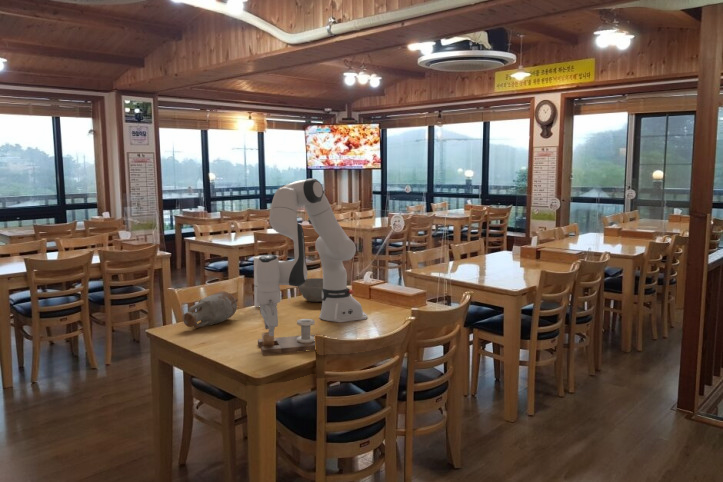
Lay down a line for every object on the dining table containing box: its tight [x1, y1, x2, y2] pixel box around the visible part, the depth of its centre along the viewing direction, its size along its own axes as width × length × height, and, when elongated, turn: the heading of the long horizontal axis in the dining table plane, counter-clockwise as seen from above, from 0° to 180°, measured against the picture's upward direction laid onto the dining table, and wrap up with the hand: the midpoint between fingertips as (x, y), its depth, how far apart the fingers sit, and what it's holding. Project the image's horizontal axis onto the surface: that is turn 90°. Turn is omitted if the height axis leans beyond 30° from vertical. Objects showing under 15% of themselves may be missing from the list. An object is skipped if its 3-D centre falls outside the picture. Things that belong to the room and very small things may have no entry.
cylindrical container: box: [253, 255, 262, 308], centre depth 290 cm, size 7×7×25 cm
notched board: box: [257, 334, 316, 356], centre depth 228 cm, size 24×14×2 cm, turn 108°
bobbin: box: [296, 318, 316, 343], centre depth 229 cm, size 7×7×8 cm
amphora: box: [182, 290, 239, 329], centre depth 259 cm, size 14×16×30 cm
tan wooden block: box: [261, 331, 275, 347], centre depth 225 cm, size 4×4×6 cm
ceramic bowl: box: [297, 277, 323, 303], centre depth 304 cm, size 22×23×10 cm
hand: (269, 332), depth 224 cm, fingers open, 8 cm apart
